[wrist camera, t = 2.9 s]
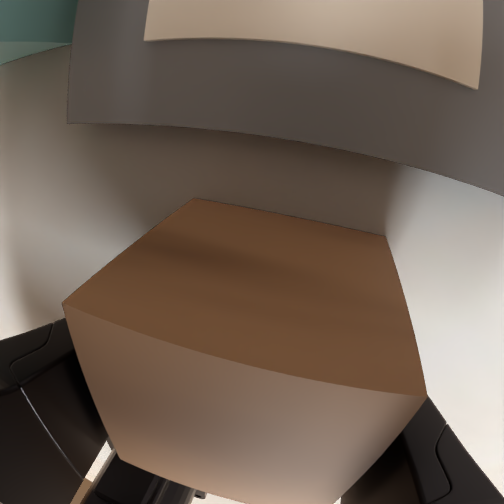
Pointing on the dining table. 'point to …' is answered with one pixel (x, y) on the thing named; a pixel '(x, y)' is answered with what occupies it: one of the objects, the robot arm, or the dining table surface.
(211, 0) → the grey square frame
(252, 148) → the dining table surface
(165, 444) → the walnut block
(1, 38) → the teal block
